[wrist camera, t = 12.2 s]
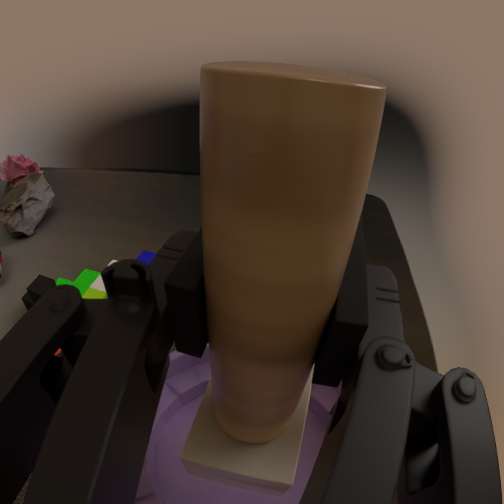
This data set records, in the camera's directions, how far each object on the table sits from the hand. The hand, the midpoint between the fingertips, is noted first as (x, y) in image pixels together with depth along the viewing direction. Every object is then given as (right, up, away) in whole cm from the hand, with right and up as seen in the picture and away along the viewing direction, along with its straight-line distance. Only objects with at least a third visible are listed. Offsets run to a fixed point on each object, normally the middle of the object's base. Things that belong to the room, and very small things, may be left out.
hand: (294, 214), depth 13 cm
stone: (-35, +3, +27) cm, 44 cm away
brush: (-2, -10, +1) cm, 11 cm away
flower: (-44, +9, +35) cm, 57 cm away
